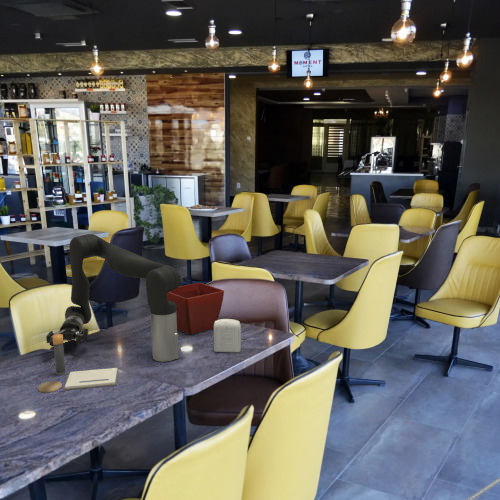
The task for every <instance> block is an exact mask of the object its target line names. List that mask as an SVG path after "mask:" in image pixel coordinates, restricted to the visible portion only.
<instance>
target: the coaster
mask: <svg viewBox="0 0 500 500" xmlns="http://www.w3.org/2000/svg"><path fill="white" fill-rule="evenodd" d="M62 387H63V384H62V382H61V381H57V380H54V381H53V380H52V381H51V380H50V381H46V382H43V383H41V384H40V385H39V386H38V388H37V389H38V392H40V393H44V394H45V393H47V394H49V393H53V392H56V391H58V390H61V388H62Z"/></svg>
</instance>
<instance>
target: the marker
mask: <svg viewBox="0 0 500 500" xmlns="http://www.w3.org/2000/svg"><path fill="white" fill-rule="evenodd" d="M52 337H53V344H54V346H53V355H54V364H55V365H54V366H55V374H56V376H64V375H66V362H65V361H66V360H65V351H64V350H65V348H64V341H63V334H55V335H53V336H52Z"/></svg>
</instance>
